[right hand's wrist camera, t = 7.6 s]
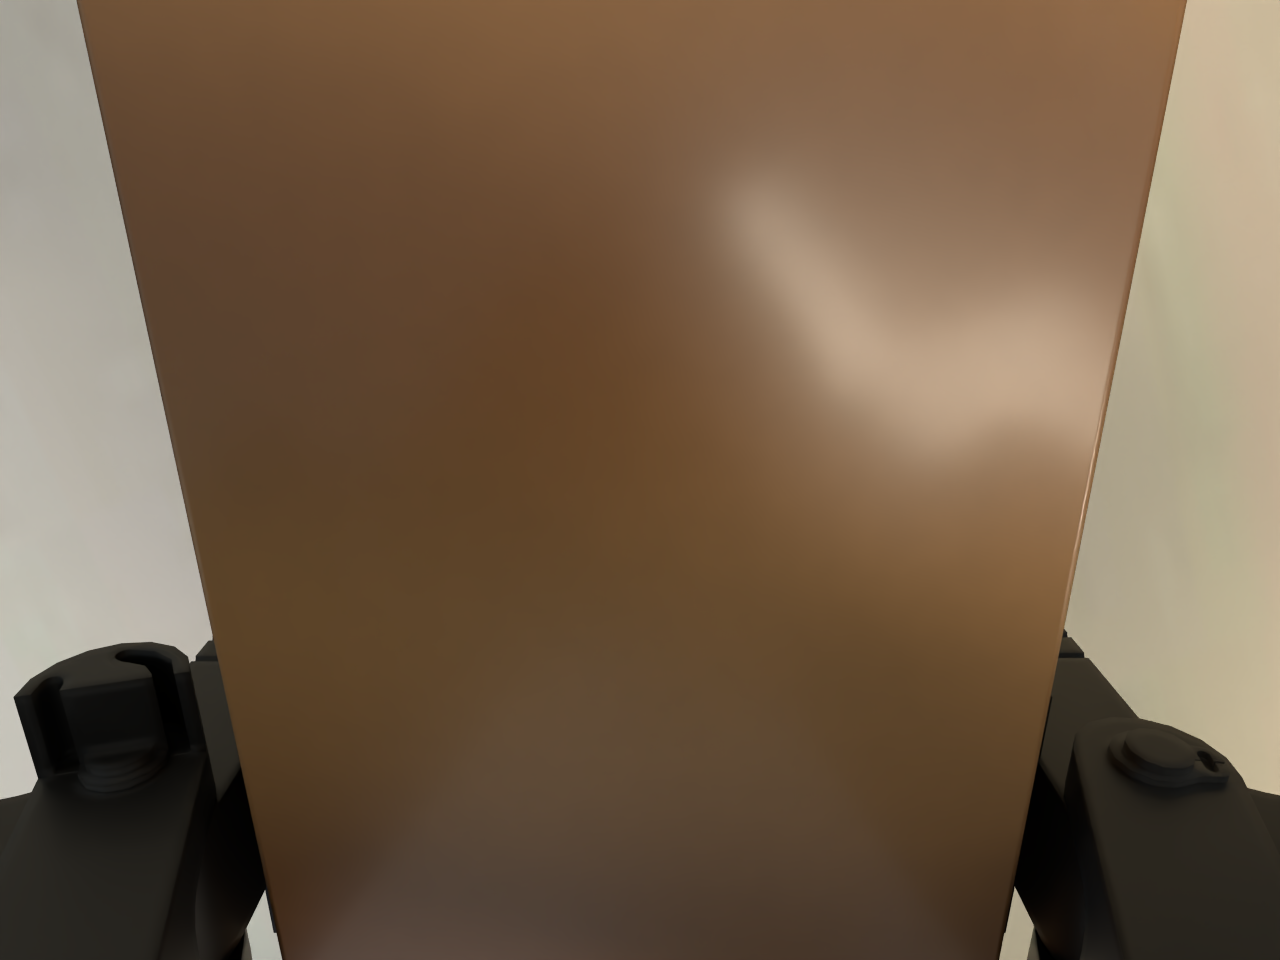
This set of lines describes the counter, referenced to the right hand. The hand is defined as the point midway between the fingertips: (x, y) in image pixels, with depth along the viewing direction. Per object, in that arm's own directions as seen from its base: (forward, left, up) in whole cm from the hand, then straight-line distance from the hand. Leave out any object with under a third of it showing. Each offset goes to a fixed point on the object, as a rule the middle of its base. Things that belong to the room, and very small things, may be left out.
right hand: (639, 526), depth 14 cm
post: (+14, -24, -1) cm, 27 cm away
